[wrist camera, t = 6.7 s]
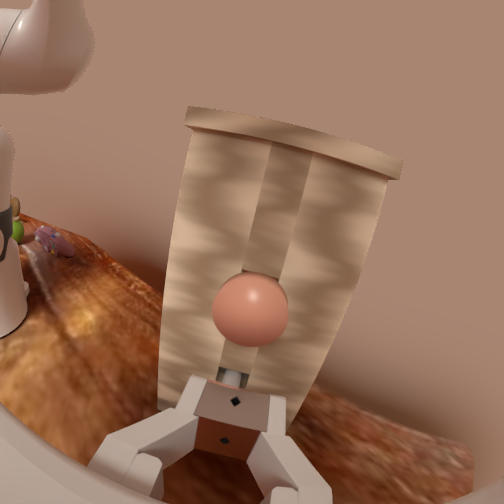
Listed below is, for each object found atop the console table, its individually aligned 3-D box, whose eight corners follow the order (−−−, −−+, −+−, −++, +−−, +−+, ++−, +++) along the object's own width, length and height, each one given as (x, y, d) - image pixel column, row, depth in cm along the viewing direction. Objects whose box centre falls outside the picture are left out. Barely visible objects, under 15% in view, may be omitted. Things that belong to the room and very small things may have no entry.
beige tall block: (150, 410, 21) (188, 106, 14) (173, 371, 27) (215, 125, 20) (284, 447, 20) (403, 160, 13) (286, 402, 27) (371, 165, 20)
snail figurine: (15, 237, 45) (16, 186, 42) (28, 243, 45) (29, 190, 41) (-1, 242, 40) (-1, 189, 36) (11, 249, 39) (11, 192, 36)
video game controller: (39, 254, 45) (28, 229, 41) (52, 241, 49) (42, 216, 44) (64, 268, 44) (52, 241, 39) (77, 253, 47) (67, 226, 42)
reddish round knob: (202, 337, 15) (216, 265, 13) (232, 280, 23) (243, 231, 22) (278, 357, 14) (302, 288, 13) (281, 293, 23) (296, 245, 22)
